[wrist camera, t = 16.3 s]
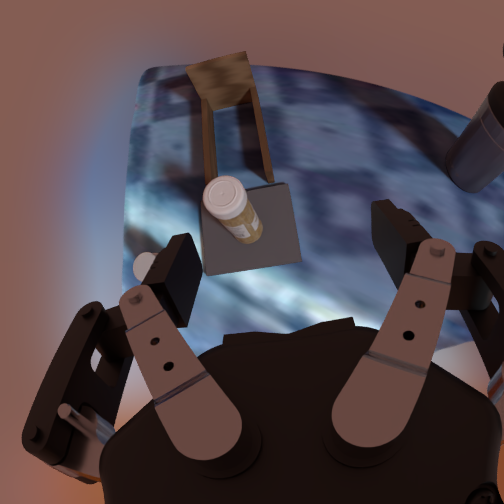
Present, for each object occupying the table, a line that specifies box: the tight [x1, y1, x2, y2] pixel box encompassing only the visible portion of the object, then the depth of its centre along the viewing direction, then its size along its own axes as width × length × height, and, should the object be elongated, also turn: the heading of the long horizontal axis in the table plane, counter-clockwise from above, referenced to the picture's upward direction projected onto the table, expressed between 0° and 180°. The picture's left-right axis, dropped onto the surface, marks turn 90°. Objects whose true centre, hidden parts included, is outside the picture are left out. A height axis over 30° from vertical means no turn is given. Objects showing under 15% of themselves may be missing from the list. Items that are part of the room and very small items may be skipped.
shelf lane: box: [186, 51, 275, 186], centre depth 41 cm, size 10×19×12 cm, turn 8°
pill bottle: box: [133, 252, 158, 281], centre depth 40 cm, size 5×5×8 cm
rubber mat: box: [201, 184, 302, 276], centre depth 42 cm, size 14×12×1 cm
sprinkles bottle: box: [203, 176, 263, 244], centre depth 36 cm, size 5×5×13 cm
